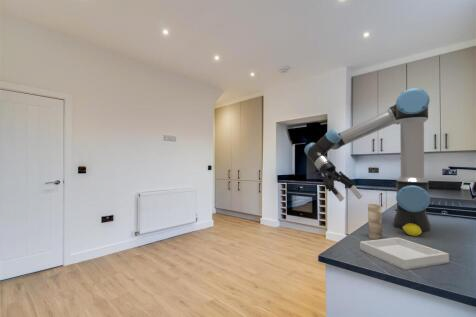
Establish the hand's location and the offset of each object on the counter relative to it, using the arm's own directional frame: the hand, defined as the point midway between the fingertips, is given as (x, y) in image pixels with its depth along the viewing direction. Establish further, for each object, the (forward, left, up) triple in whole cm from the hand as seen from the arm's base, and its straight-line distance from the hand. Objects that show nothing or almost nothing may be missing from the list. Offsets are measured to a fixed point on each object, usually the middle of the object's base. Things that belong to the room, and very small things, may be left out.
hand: (351, 198), depth 114 cm
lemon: (-21, +12, -16) cm, 29 cm away
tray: (+5, +29, -15) cm, 33 cm away
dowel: (-3, +10, -16) cm, 19 cm away
